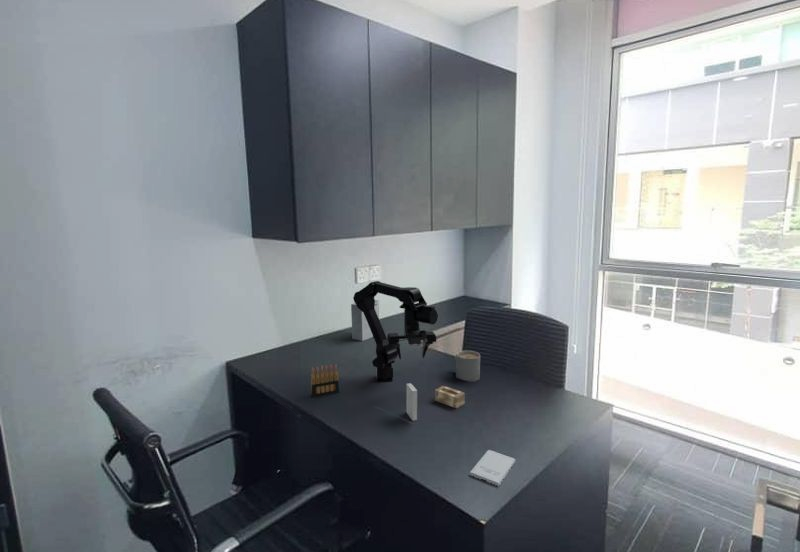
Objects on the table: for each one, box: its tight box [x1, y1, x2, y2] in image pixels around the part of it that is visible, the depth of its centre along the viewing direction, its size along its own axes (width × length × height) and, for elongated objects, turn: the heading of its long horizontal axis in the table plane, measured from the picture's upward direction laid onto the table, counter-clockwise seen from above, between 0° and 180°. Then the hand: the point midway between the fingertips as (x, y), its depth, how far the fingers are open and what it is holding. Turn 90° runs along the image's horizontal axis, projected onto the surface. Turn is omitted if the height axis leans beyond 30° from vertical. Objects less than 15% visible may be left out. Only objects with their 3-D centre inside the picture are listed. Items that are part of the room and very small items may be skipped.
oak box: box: [434, 385, 466, 409], centre depth 149 cm, size 10×5×4 cm, turn 48°
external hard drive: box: [469, 449, 516, 487], centre depth 111 cm, size 2×8×12 cm
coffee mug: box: [454, 350, 481, 383], centre depth 173 cm, size 13×10×10 cm
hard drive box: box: [350, 299, 380, 342], centre depth 227 cm, size 16×8×20 cm, turn 144°
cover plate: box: [406, 383, 418, 421], centre depth 138 cm, size 6×2×11 cm, turn 19°
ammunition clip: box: [310, 362, 340, 398], centre depth 156 cm, size 11×2×12 cm, turn 113°
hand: (411, 358), depth 161 cm, fingers open, 9 cm apart
